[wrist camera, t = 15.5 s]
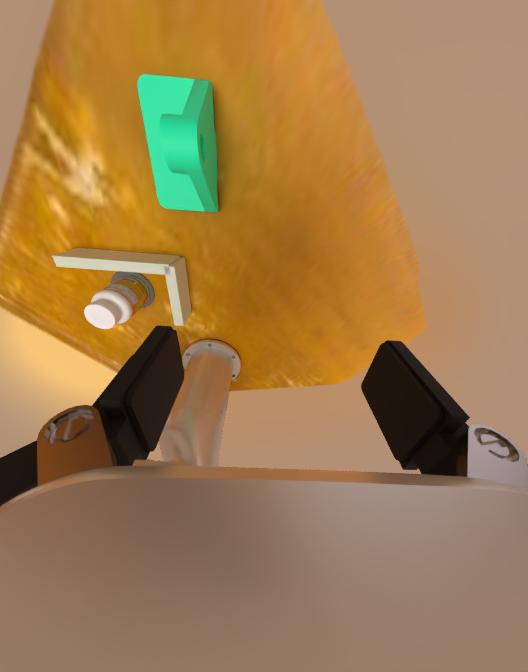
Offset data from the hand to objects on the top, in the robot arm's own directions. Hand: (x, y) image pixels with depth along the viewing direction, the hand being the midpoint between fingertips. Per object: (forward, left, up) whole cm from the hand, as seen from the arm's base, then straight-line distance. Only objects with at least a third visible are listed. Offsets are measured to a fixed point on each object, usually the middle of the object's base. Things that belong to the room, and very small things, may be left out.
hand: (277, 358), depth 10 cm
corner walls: (-9, +22, -28) cm, 37 cm away
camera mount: (+9, +11, -29) cm, 32 cm away
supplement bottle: (-10, +23, -28) cm, 38 cm away
